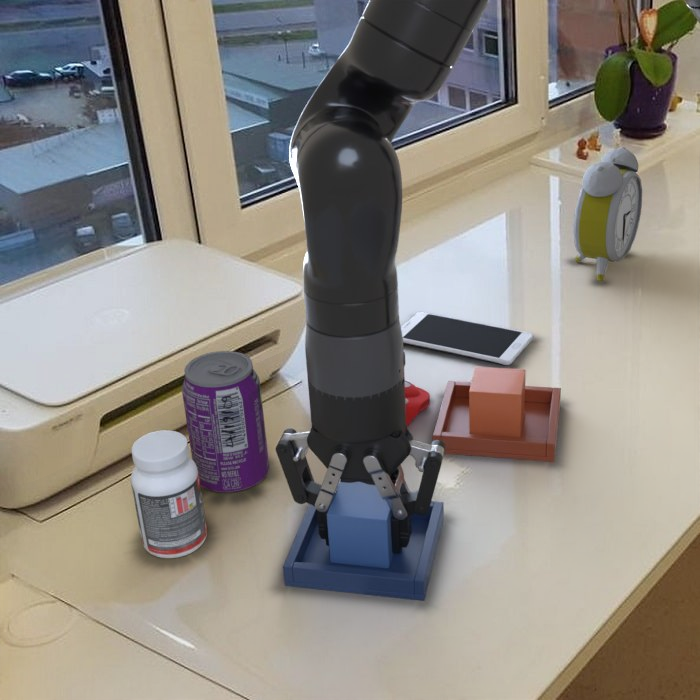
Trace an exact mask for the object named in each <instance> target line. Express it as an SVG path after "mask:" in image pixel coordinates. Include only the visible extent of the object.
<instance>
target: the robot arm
mask: <svg viewBox="0 0 700 700" xmlns="http://www.w3.org/2000/svg"><path fill="white" fill-rule="evenodd" d="M490 1H491V0H368V3H367V4H366V7H365V9H364V11H363V13H362V16H361V17H360V19H359V20H358V23H357V25H356V27H355V30H354V32H353V34H352V37H351V39H350V40H349V43H348V45H347V46H346V48H345V49H344V50H343V52H342V53H341V54H340V56H339V57H338V58H337V59H336V61H335V62H334V63H333V65H332V66H331V67H330V69H329V70H328V72H327V73H326V75H325V76H324V78H323V79H322V80H321V82H320V83H319V84H318V86H317V88H316V89H315V90H314V92H313V93H312V95H311V97H310V99H309V100H308V101H307V104H306V105H305V107H304V108H303V110H302V112H301V114H300V116H299V118H298V120H297V122H296V125H295V127H294V129H293V132H292V135H291V138H290V143H289V148H288V149H289V150H288V151H289V152H288V153H289V154H288V157H289V164H290V165H289V166H290V167H291V171H292V174H293V176H294V178H295V181H296V184H297V186H298V189H299V194H300V201H301V206H302V213H303V221H304V232H305V233H304V234H305V244H306V253H305V255H304V259H303V264H302V287H303V297H304V310H305V311H304V312H305V321H306V322H305V327H306V328H305V339H304V346H305V347H304V350H305V352H304V353H305V363H306V365H305V366H306V375H307V387H308V388H307V389H308V398H309V411H310V422H311V428H310V430H309V431H303V432H298V431H297V429H294V428H292V427H288V428H285V429H284V431H283V433H282V435H281V437H280V438H279V440H278V442H277V445H276V446H275V452H276V456H277V458H278V460H279V463H280V465H281V466H280V467H281V468H282V471H283V475H284V477H285V479H286V482H287V485H288V488H289V490H290V491H289V492H290V493H291V496H292V499H293V501H294V503H297V504H298V505H304V504H306V503H307V504H308V505H309V504H311V505H313V506H314V507H315V508H316V510H317V519H318V530H319V535H320V537H321V539H326V545H327V546H329V537H328V525H327V513H328V510H329V508H330V505H331V503H332V500H333V498H334V494H335V493H336V490H337V488H338V485H339V483H340V480H341V482H345V483H353V482H362V483H365V484H369V485H376V487H377V489H378V491H379V493H380V495H381V497H382V499H383V500H384V499H385V500H386V502H387V504H388V506H389V508H390V510H391V512H392V516H391V539H392V553H401V550H402V547H404V548H407V546H408V544H409V540H410V537H411V533H412V530H411V515H412V514H418V515H420V516H424V515H427V514H428V512H429V508H430V504H431V501H433V497H434V494H435V489H436V486H437V482H438V478H439V476H440V475H439V474H440V470H441V467H442V464H443V459H444V456H445V453H444V452H445V449H446V445H445V443H444V442H443V441H441V440H435V441H433V440H432V441H431V443H426V442H423V441H420V440H415V439H414V437H413V435H412V433H411V431H410V430H409V427H408V426H407V425H406V405H405V381H406V379H405V377H406V376H405V367H406V353H405V351H404V343H403V337H402V331H401V327H402V325H401V321H400V306H399V305H400V304H399V302H400V301H399V280H398V269H397V262H396V261H397V253H398V247H399V240H400V233H401V232H400V231H401V223H402V214H403V213H402V211H403V180H402V179H403V178H402V171H401V170H402V169H401V164H400V160H399V157H398V154H397V152H396V150H395V147H394V146H393V145H392V142H393V141H394V138H395V136H397V135H396V134H397V133H398V132H399V130H400V128H401V127H402V125H403V124H404V122H405V120H406V119H407V117H408V116H409V115H410V113H411V112H412V110H413V108H414V107H415V106H416V104H417V103H422V102H427V101H429V100H431V99H432V98H433V97H435V96H436V94H438V92H439V91H440V90H441V88H442V87H443V85H444V84H445V83H446V81H447V80H448V77H450V74H451V72H452V71H453V68H454V67H455V66H456V63H457V62H458V60H459V58H460V56H461V54H462V52H463V50H464V48H465V47H466V45H467V43H468V41H469V40H470V37H471V36H472V34H473V31H475V28H476V27H477V25H478V23H479V22H480V19H481V18H482V16H483V14H484V13H485V10H486V9H487V7H488V5H489V3H490ZM683 1H684V3H685V4H686V6H687V7H688V9H689V11H690V12H691V13H692V15H693V16H694V18H695V19H696V21H697V22H698V23H699V24H700V0H683ZM309 449H310V450H311V452H312V453H313V454H314V455H315V456H316V457H317V459H318V460H319V461H320V462H321V463H322V464H323V466H324V467H325V468H326V469H327V470H326V473H325V476H324V478H323V480H322V483H321V484H320V483H318V482H315V479H314V476H313V473H312V471H311V467H310V465H309V461H308V459H307V454H308V452H309ZM409 456H410V457H412V458H413V459H414V461H415V464H414V465H415V467H416V468H417V470H418V472H419V473H422V476H421V480H420V484H419V487H418V490H414V491H410V488H409V486H408V484H407V482H406V480H405V473H404V470H403V467H402V464H403V462H405V460H406V459H407V458H408V457H409Z"/></svg>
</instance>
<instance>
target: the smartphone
mask: <svg viewBox="0 0 700 700" xmlns="http://www.w3.org/2000/svg"><path fill="white" fill-rule="evenodd" d="M401 331H402V337H403V344H405V345H409V346H414V347H419V348H425V349H428V350H434V351H437V352H438V351H439V352H443V353H448V354H451V355H457V356H462V357H465V358H466V357H467V358H471V359H475V360H481V361H486V362H489V363H494V364H500V365H504V366H510V365H512V364H513V363H514V361H515V360H517V358H518V357H519V356H520V354H522V352H523V351H524V350H525V348H527V347H528V345H529V344H530V343H531V342H532V341H533V339H534V338H535V335H534V334H533V333H531V332H527V331H521V330H516V329H512V328H506V327H502V326H501V327H500V326H497V325H492V324H491V325H490V324H486V323H481V322H476V321H470V320H467V319H466V320H465V319H460V318H455V317H450V316H444V315H441V314H440V315H439V314H435V313H429V312H425V311H418V312H416V313H415V314H414V315H413V316H412V317H411V318H410V319H409V320H408V321H406V322H405V323H404V324H403V325H401Z"/></svg>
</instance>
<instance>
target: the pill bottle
mask: <svg viewBox="0 0 700 700" xmlns="http://www.w3.org/2000/svg"><path fill="white" fill-rule="evenodd" d="M131 446H132V447H131V457H132V462H133V465H134V468H133V469H132V471H131V475H130V486H131V490H132V495H133V501H134V507H135V512H136V517H137V523H138V527H139V528H138V529H139V533H140V537H141V538H140V539H141V542H142V546H143V548H144V549H145V551H146V552H148V554H150V555H152V556H154V557H156V558H161V559H162V558H163V559H175V558H182V557H184V556H185V557H186V556H188V555H190V554H192V553H194V552H195V551H197V550H198V549H199V548H200V547H201V546H202V545H204V543H205V541H206V539H207V536H208V526H207V520H206V513H205V507H204V501H203V495H202V494H203V493H202V488H201V485H200V481H199V474H198V469H197V466H196V464H195V462H194V461H193V460H192V457H190V448H189V443H188V439H187V438H186V436H185V435H184V434H183V433H181V432H179V431H175V430H168V429H163V430H156V431H151V432H148V433H146V434H144V435H142V436H140V437H139V438H138V439H136V440H135V441H134V443H133V444H132V445H131Z"/></svg>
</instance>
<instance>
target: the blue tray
mask: <svg viewBox="0 0 700 700" xmlns="http://www.w3.org/2000/svg"><path fill="white" fill-rule="evenodd" d="M334 495H335V494H334ZM444 507H445V506H444V501H436V500H435V501H434V500H432V501H431V504H430V508H429V512H428V514H427V515H424V516H420V515H418V514H412V515H411V530H412V533H411V537H410V540H409V544H408V546H407V548H404V547H402V550H401V553H394V554H393V557H392V561H391V564H390V568H389V569H386V568H377V567H367V566H358V565H348V564H339V563H331V562H330V550H329V546H327V545H326V539H321V537H320V535H319V530H318V519H317V510H316V508H315V507H314V506H313V505H311V504H309V503H308V507H307V509H306V511H305V513H304V516H303V518H302V521H301V523H300V526H299V527H298V531H297V532H296V534H295V538H294V539H293V542H292V544H291V547H290V549H289V551H288V553H287V556H286V558H285V561H284V563H283V565H282V572H283V581H284V586H286V587H295V588H302V589H303V588H305V589H314V590H321V591H322V590H323V591H329V592H330V591H331V592H340V593H347V594H348V593H349V594H359V595H368V596H375V597H376V596H377V597H384V598H385V597H386V598H395V599H405V600H412V601H413V600H414V601H423V602H424V601H426V597H427V596H426V595H427V592H428V589H429V583H430V580H431V575H432V571H433V567H434V563H435V559H436V554H437V550H438V546H439V542H440V537H441V534H442V529H443V526H444V525H443V524H444V521H445V516H444V515H445V514H444V513H445V512H444V509H445V508H444Z"/></svg>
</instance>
